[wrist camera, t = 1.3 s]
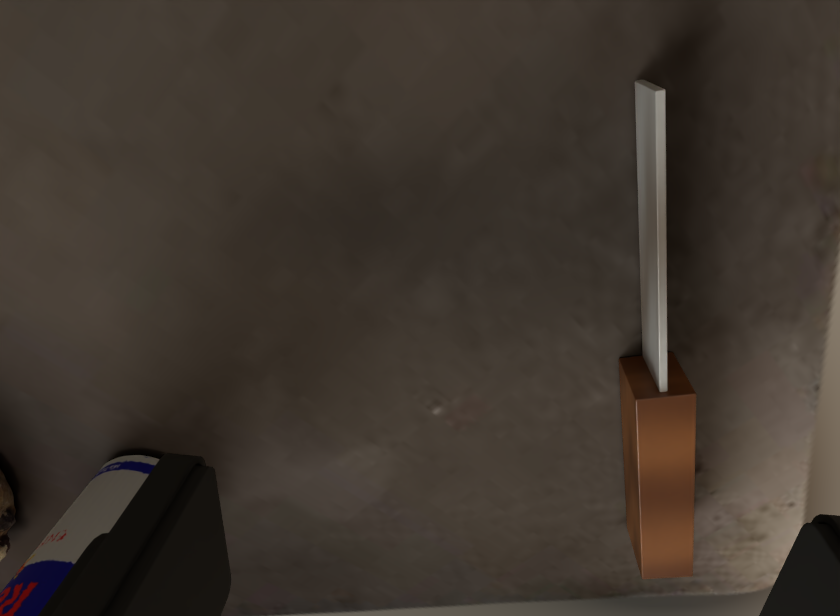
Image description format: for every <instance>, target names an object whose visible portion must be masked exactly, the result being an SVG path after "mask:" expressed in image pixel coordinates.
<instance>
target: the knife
mask: <svg viewBox="0 0 840 616" xmlns="http://www.w3.org/2000/svg"><path fill="white" fill-rule="evenodd" d="M635 106H636V141H637V177H638V212H639V247H640V282H641V317H642V353H643V356H634V357H625V358H619V374H620V394H621V414H622V434H623V455H624V475H625V495H626V515H627V529H628V532H629V536H630V539H631V543H632V546H633V550H634V553H635V556H636V560H637V563H638V567H639V570H640V574H641V577H642V579H653V578H671V577H689V576H693V542H694V490H695V439H696V392H695V391H694V389H693V387H692V385H691V384H690V382H689V380H688V378H687V377H686V375H685V373H684V371H683V370H682V368H681V366H680V364H679V362H678V361H677V359H676V357H675V355H674V354H673V352H669V353H667V233H666V90H665V89H663V88H661V87H659V86H657V85H654V84H652V83H650V82H648V81H645V80H638V81H635Z"/></svg>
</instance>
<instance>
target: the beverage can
mask: <svg viewBox="0 0 840 616" xmlns="http://www.w3.org/2000/svg"><path fill="white" fill-rule="evenodd" d="M159 460H160V459H157V458H153V457H150V456H143V455H129V456H122V457H118V458H115V459H112V460H111V461H109V462H107V463H106V464H105V465H104V466H102V468H101V469H100V470H99V472H98V473H97V474H96V475H95V477H94V478H93V479H92V480H91V482H90V483H89V484H88V485H87V487H86V488H85V489H84V490H83V492H82V493H81V494H80V495H79V496H78V498H77V499H76V500H75V501H74V503H73V504H72V505H71V506H70V508H69V509H68V510H67V511H66V513H65V514H64V515H63V516H62V518H61V519H60V520H59V521H58V523H57V524H56V525H55V526H54V527H53V529H52V530H51V531H50V532H49V534H48V535H47V536H46V537H45V539H44V540H43V541H42V542H41V544H40V545H39V546H38V547H37V549H36V550H35V551H34V552H33V553H32V555H31V556H30V557H29V558H28V560H27V561H26V562H25V563H24V565H23V566H22V567H21V568H20V570H19V571H18V572H17V573H16V575H15V576H14V577H13V578H12V580H11V581H10V582H9V583H8V584H7V586H6V587H5V588H4V589H3V591H2V592H1V593H0V616H38V614H39V613H40V612H41V610H42V609H43V607H44V606H45V605H46V603H47V602H48V600H49V599H50V598H51V596H52V595H53V593H54V592H55V591H56V589H57V588H58V586H59V585H60V584H61V582H62V581H63V579H64V578H65V577H66V575H67V574H68V572H69V571H70V570H71V568H72V567H73V565H74V564H75V563H76V561H77V560H78V558H79V557H80V556H81V554H82V553H83V551H84V550H85V549H86V547H87V546H88V545H89V544H90V543H91V542H92V540H93V539H94V538H96V537H97V536H99V535H100V534H102V533H109V532H110V530H111V529H112V527H113V526H114V524H115V523H116V522H117V520H118V519H119V517H120V516H121V514H122V513H123V511H124V510H125V509H126V507H127V506H128V504H129V503H130V501H131V500H132V498H133V497H134V496H135V494H136V493H137V491H138V490H139V488H140V487H141V485H142V484H143V483H144V481H145V480H146V478H147V477H148V475H149V474H150V472H151V471H152V470H153V468H154V467H155V465H156V464H157V462H158V461H159Z"/></svg>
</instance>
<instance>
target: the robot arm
mask: <svg viewBox="0 0 840 616" xmlns="http://www.w3.org/2000/svg"><path fill="white" fill-rule="evenodd" d="M230 585H231V573H230V566H229V560H228V553H227V546H226V540H225V533H224V527H223V520H222V514H221V507H220V501H219V494H218V488H217V481H216V475H215V470H214V468H213V467H208V466H206V464H205V461H204V459H203V458H202V457H199V456H189V455H178V454H168V453H167V454H165V455H163V456H162V457H161V458H160V460H159V461H158V462H157V464H156V465H155V467H154V468H153V470H152V471H151V472H150V474H149V475H148V477H147V478H146V480H145V481H144V483H143V484H142V485H141V487H140V488H139V490H138V491H137V493H136V494H135V496H134V497H133V498H132V500H131V501H130V503H129V504H128V506H127V507H126V509H125V510H124V511H123V513H122V514H121V516H120V517H119V519H118V520H117V522H116V523H115V524H114V526H113V527H112V529H111V530H110V532H109V533H102V534H100V535H99V536H97V537H96V538H94V539H93V540H92V542H91V543H90V544H89V545H88V546H87V547H86V549H85V550H84V551H83V553H82V554H81V556H80V557H79V558H78V560H77V561H76V563H75V564H74V565H73V567H72V568H71V570H70V571H69V572H68V574H67V575H66V577H65V578H64V579H63V581H62V582H61V584H60V585H59V586H58V588H57V589H56V591H55V592H54V593H53V595H52V596H51V598H50V599H49V600H48V602H47V603H46V605H45V606H44V607H43V609H42V610H41V612H40V613H39V614H38V616H220V615H221V613H222V611H223V608H224V606H225V603H226V601H227V598H228V595H229V591H230ZM759 616H840V516H835V515H823V514H820V515H818V516H816V517H815V518H814V519H813V520H812V522H811V523H806V524H804V525H803V527H802V528H801V530H800V532H799V534H798V536H797V538H796V540H795V542H794V544H793V546H792V549H791V551H790V553H789V555H788V557H787V559H786V561H785V563H784V565H783V567H782V569H781V571H780V573H779V576H778V578H777V580H776V582H775V584H774V586H773V588H772V590H771V592H770V594H769V596H768V598H767V601H766V603H765V605H764V607H763V609H762V611H761V613H760V615H759Z"/></svg>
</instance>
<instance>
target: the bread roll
mask: <svg viewBox="0 0 840 616" xmlns="http://www.w3.org/2000/svg"><path fill="white" fill-rule="evenodd" d="M15 512H16V509H15V507H14V498H13V492H12V490H11V488H10V486H9V484H8V482H7V481H6V478H5V476H4V474H3V473H2V471H1V469H0V560H1V559H3V558H4V557H5V556H6V554H7V552H8V550H9V549H10V543H9V539H10V538H9V537H8V536H7V532H8V530H9V529H10V528H11V526H12V525H13V524H14V523H15V522H16V520H15V517H14V516H15Z"/></svg>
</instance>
